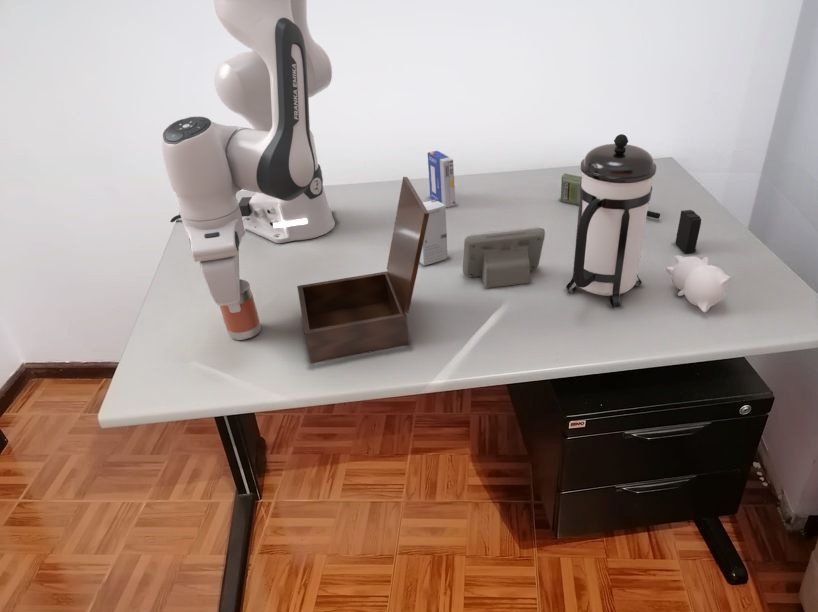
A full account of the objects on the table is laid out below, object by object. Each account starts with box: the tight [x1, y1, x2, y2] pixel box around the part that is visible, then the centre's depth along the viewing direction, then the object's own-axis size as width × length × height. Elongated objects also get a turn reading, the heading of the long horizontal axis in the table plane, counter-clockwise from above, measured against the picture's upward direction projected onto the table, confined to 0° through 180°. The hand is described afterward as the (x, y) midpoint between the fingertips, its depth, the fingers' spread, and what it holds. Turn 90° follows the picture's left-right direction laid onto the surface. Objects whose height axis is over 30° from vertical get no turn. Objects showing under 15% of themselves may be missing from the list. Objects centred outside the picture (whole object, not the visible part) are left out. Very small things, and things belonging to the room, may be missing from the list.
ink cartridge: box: [675, 209, 702, 254], centre depth 135 cm, size 5×2×8 cm, turn 10°
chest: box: [296, 270, 410, 364], centre depth 112 cm, size 17×16×7 cm
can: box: [219, 278, 262, 341], centre depth 111 cm, size 6×6×9 cm
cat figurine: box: [665, 254, 732, 313], centre depth 119 cm, size 9×11×12 cm
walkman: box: [427, 150, 456, 208], centre depth 156 cm, size 8×3×12 cm, turn 32°
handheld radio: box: [560, 172, 661, 220], centre depth 152 cm, size 7×3×25 cm
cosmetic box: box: [419, 199, 449, 266], centre depth 132 cm, size 6×4×12 cm
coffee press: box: [565, 133, 657, 308], centre depth 115 cm, size 17×16×30 cm
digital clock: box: [462, 226, 546, 289], centre depth 126 cm, size 16×9×11 cm, turn 89°
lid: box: [386, 176, 429, 314], centre depth 107 cm, size 18×16×1 cm
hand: (235, 299), depth 109 cm, fingers closed on can, 6 cm apart
